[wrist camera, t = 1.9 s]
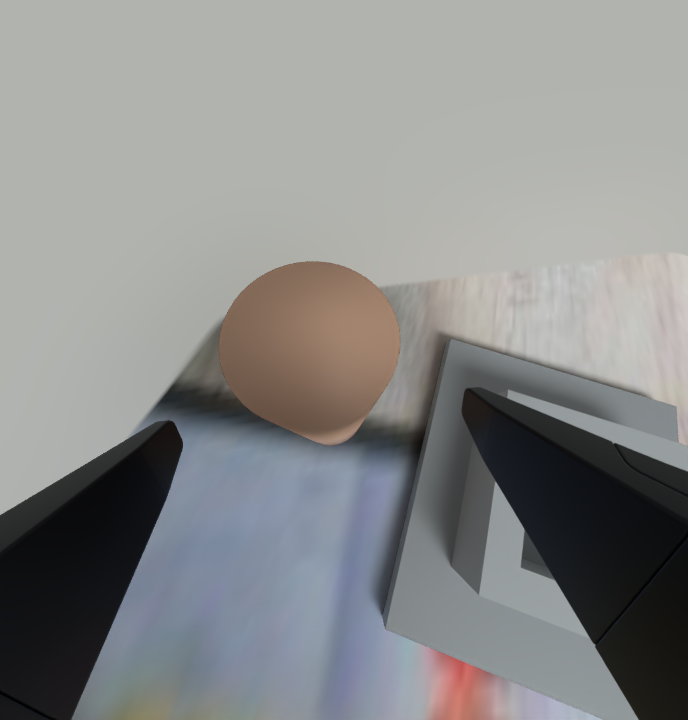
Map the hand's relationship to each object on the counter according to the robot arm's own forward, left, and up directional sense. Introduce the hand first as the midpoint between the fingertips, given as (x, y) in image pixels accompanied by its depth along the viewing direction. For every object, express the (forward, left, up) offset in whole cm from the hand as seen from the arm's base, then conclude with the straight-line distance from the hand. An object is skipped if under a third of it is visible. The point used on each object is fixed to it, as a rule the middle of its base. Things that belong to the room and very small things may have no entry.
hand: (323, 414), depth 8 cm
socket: (0, -12, -9) cm, 15 cm away
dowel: (+1, +1, -9) cm, 9 cm away
